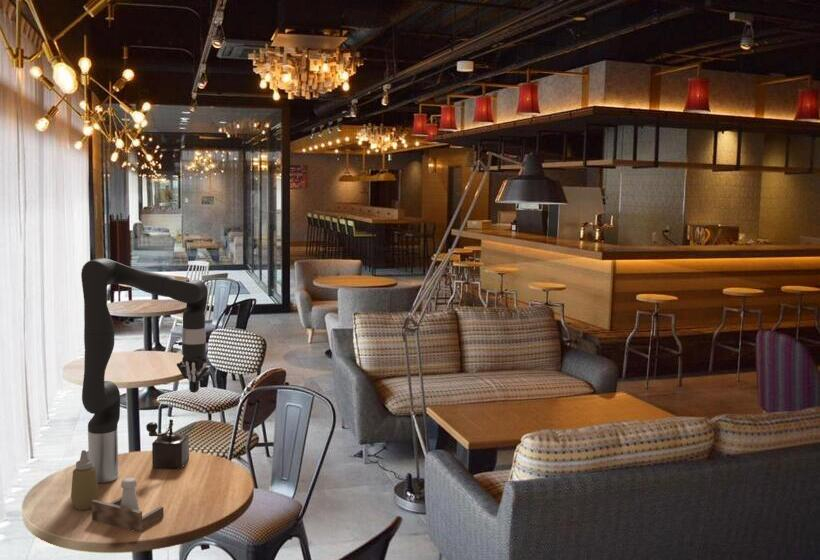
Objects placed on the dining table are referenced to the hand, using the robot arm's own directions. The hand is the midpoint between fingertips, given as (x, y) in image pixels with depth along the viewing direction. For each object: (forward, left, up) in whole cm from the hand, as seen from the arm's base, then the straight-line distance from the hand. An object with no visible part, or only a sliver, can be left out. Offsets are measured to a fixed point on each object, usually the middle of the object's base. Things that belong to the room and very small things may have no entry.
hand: (194, 391), depth 248 cm
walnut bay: (-1, -30, -32) cm, 44 cm away
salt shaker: (0, -31, -32) cm, 44 cm away
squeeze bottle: (-19, -29, -32) cm, 47 cm away
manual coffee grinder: (-18, +8, -32) cm, 38 cm away
